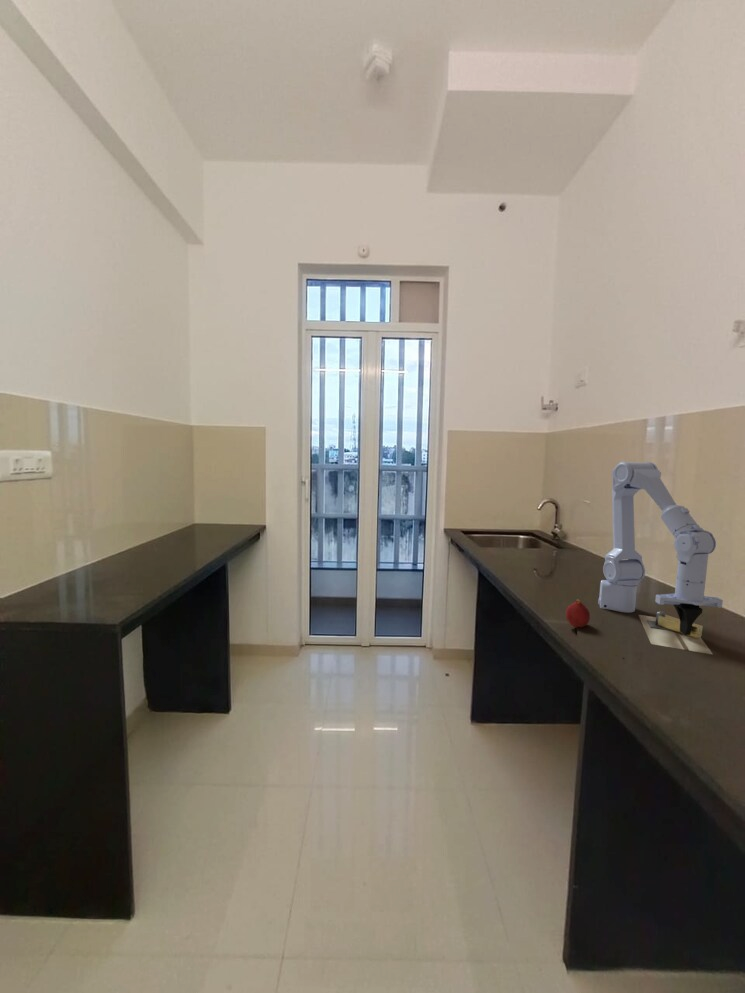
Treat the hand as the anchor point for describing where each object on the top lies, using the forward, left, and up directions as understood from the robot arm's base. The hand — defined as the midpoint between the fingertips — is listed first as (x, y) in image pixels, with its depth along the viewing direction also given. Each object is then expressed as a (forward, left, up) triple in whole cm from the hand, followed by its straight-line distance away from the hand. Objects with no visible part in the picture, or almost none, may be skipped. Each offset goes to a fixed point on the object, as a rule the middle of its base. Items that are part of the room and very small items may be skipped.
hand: (685, 633), depth 108 cm
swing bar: (-1, +4, -1) cm, 4 cm away
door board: (-2, +2, -2) cm, 4 cm away
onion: (-24, -3, -3) cm, 25 cm away
